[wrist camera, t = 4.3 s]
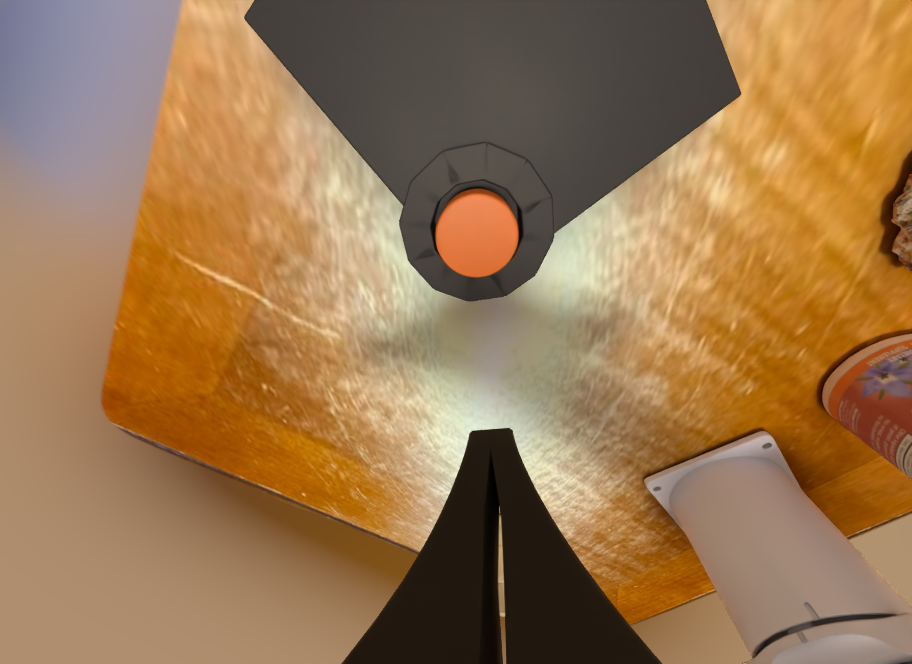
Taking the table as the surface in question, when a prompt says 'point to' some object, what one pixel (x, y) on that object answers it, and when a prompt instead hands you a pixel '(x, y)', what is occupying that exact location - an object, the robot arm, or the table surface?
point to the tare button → (477, 233)
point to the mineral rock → (904, 225)
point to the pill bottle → (876, 398)
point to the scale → (502, 102)
